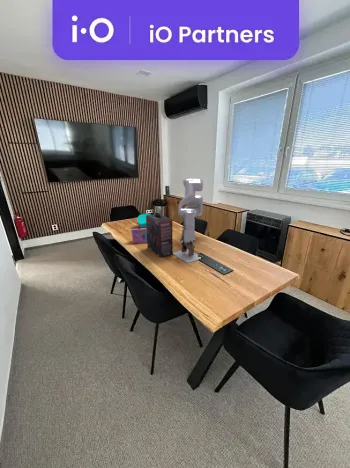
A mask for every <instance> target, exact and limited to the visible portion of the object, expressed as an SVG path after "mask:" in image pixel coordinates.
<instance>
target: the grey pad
mask: <svg viewBox="0 0 350 468" xmlns="http://www.w3.org/2000/svg"><path fill="white" fill-rule="evenodd" d="M181 251H182V249H181V250H178V251H174V252H173V254H172V255H174V256H175V257H177V258H179V260H182V261H183V262H185V263H186V264H190V263H193V262H196V261H200V260H202V259H201V257H198V255H199V254H198V253H196V252H194V255H193V256H190V257H189V256H188V251H189V249H187V251H186V252H183V253H182V252H181ZM199 259H200V260H199Z"/></svg>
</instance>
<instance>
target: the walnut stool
mask: <svg viewBox="0 0 350 468" xmlns="http://www.w3.org/2000/svg"><path fill="white" fill-rule="evenodd" d="M184 243H185V242H184ZM180 246H181V250H182V251H181V250H180V251H181V252H182V253H183V252H186V251H187V249H189V251H188V256H189V257H190V256H193V255H194V253H195V249H196V245H195V244H194V243H193V244H190V242H186V250H184V249H183V244H182V243H181V242H180Z"/></svg>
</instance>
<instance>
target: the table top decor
mask: <svg viewBox="0 0 350 468" xmlns="http://www.w3.org/2000/svg"><path fill="white" fill-rule="evenodd" d="M146 215H152V214H150V213H143V214H139V215H138V217H137V218H136V219H137V224H138V225H139V227H147V226H146Z"/></svg>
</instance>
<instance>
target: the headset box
mask: <svg viewBox="0 0 350 468" xmlns="http://www.w3.org/2000/svg"><path fill="white" fill-rule="evenodd" d="M146 226H147V243H146V245H147V249H148V250H150V251H151V252H153V254H154V255H155V254H156V255H157V256H158V257H159V258H163V257H167V256H171V255H174V254H173V253H174V252H173V251H174V250H173V248H174V247H173V219H172V218H169V217H167V216H165V215H162V214H160V213H158V212H155V211H154V214H151V215H146Z"/></svg>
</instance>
